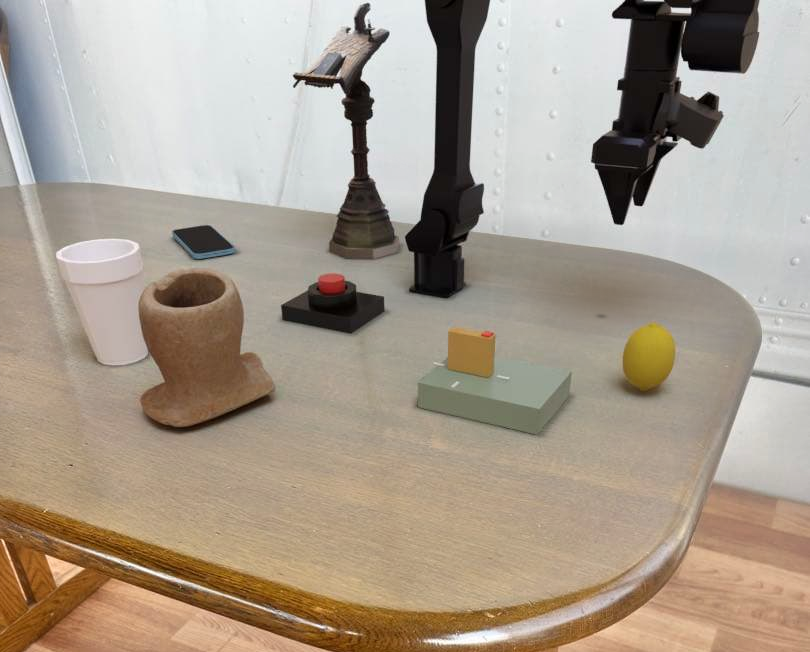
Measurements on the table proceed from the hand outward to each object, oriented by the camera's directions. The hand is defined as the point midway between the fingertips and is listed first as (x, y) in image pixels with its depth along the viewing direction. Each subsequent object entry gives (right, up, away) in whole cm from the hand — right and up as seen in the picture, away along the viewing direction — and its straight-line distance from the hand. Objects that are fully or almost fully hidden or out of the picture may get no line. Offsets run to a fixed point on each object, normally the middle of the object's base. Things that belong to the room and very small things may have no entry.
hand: (629, 214), depth 99 cm
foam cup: (-63, -17, +3) cm, 65 cm away
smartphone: (-62, +11, +40) cm, 75 cm away
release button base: (-37, -9, +13) cm, 40 cm away
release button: (-37, -6, +11) cm, 39 cm away
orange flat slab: (-20, -21, -9) cm, 31 cm away
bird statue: (-35, +8, +36) cm, 51 cm away
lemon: (0, -23, -7) cm, 24 cm away
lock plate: (-18, -24, -9) cm, 31 cm away
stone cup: (-48, -25, -9) cm, 55 cm away
